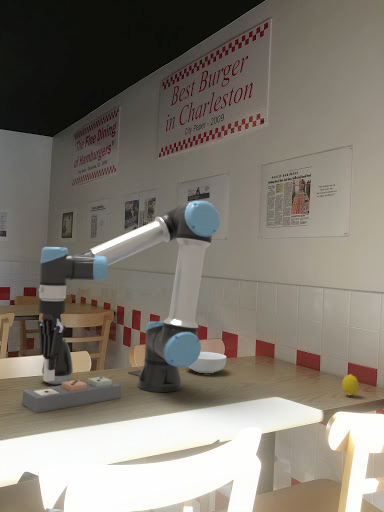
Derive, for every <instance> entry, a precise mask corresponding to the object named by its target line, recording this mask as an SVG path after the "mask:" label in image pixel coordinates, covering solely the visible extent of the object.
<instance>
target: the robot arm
mask: <svg viewBox="0 0 384 512" xmlns="http://www.w3.org/2000/svg"><path fill="white" fill-rule="evenodd" d="M220 222H221V219H220V214H219V212H218V209H216V207H215V206H214V205H213V204H212V203H210V202H209V201H206V200H193V201H190V202H186V203H182V204H179V205H177V206H175V207H173V208H172V209H169V210H168V211H166V212H165V213H162V214H160V215H158V216H156V217H155V218H154V221H151V222H149V223H146V224H145V225H142V226H141V227H137V228H136V229H135V228H134V229H133V230H131V231H128V232H126V233H124V234H122V235H118V236H116V237H115V238H112V239H110V240H108V241H105V242H103V243H100V244H97V246H94V247H92V248H90V249H88V250H85V251H83V252H80V253H78V254H77V253H76V254H70V253H69V252H68V248H67V247H60V246H59V247H57V246H44V247H42V249H41V255H40V262H39V264H40V266H39V270H40V271H39V272H40V273H39V288H38V292H39V294H38V295H39V297H38V299H39V301H38V313H39V314H42V317H41V320H38V321H37V327H38V335H39V351H40V355H42V357H43V359H44V360H43V363H44V377H43V380H42V381H43V382H46V381H53V380H54V377H55V358H57V357H60V352H61V346H62V340H63V339H64V333H65V332H66V325H62V318H61V317H62V316H61V315H62V314H65V313H66V301H65V299H67V280H78V281H94V282H95V281H104V280H106V278H107V277H108V271H109V266H111V265H113V264H115V263H117V262H119V261H122V260H123V259H127V258H128V257H130V256H133V255H135V254H138V253H140V252H141V251H144V250H147V249H148V248H152V247H153V246H156V245H157V244H159V243H161V242H165V243H168V242H171V241H174V240H176V241H177V243H178V245H179V248H178V254H177V261H176V268H175V274H174V281H173V288H172V295H171V300H170V307H169V314H168V317H167V318H166V319H164V320H162V321H149V322H147V324H146V329H145V346H144V362H143V366H142V369H141V370H142V371H141V374H140V376H139V377H138V380H137V381H138V382H137V387H138V388H139V389H141V390H144V391H148V392H154V393H171V392H176V391H179V390H181V388H182V380H181V375H180V371H179V368H180V369H181V368H187V367H188V366H190V365H191V364H193V363H194V362H195V361H196V360H197V358H198V357H199V355H200V352H202V345H201V341H200V338H199V337H198V333H199V325H198V324H197V322H196V312H197V307H198V300H199V294H200V286H201V282H202V281H201V279H202V273H203V269H204V268H203V266H204V261H205V254H206V250H207V248H208V247H209V246H211V244H212V237H213V235H214V234H215V233H216V232H217V231H218V229H219V227H220ZM46 383H47V382H46Z"/></svg>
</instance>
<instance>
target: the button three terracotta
mask: <svg viewBox="0 0 384 512" xmlns="http://www.w3.org/2000/svg"><path fill="white" fill-rule="evenodd" d="M84 382H85V381H82V380H79V379H75V380H68V381H66V382H62V384H61V385H62V387H61V388H63V389H65V390H68V391H70V392H71V391H78V390H84V389H87V384H86V383H84Z"/></svg>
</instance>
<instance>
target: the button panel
mask: <svg viewBox="0 0 384 512" xmlns="http://www.w3.org/2000/svg"><path fill="white" fill-rule="evenodd" d="M83 382H84V383H86V384H87V382H88V381H83ZM61 387H62V384H60V385H55V386H53V385H52V386H48V387H40V388H34V389H24V390H23V392H22V404H21V405H22V406H24V407H26V408H27V409H29V410H31V411H32V412H34V413H36V414H37V413H44V412H49V411H53V410H54V411H55V410H59V409H60V410H61V409H64V408H71V407H76V406H83V405H88V404H93V403H100V402H105V401H112V400H115V399H121V388H122V385H121V384H118V383H116V382H114V381H112V385H110V386H104V387H97V388H96V387H94V386H91V385H89V384H87V389H84V390H78V391H71V392H70V391H68V390H65V389H63V388H61ZM44 389H53V390H55V391H57V392H59V393H58V394H52V395H45V396H40V395H38V394H37V393H35V392H33V391H37V390H44Z"/></svg>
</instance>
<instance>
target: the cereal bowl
mask: <svg viewBox="0 0 384 512" xmlns="http://www.w3.org/2000/svg"><path fill="white" fill-rule="evenodd" d="M226 363H227V356H226V355H225V354H222V353H218V352H210V351H200V355H199V357H198V358H197V360H196V361H195V362H194V363H193V364H191V365H190V366H187V367H188V368H189V369H191V370H192V371H194V372H195V371H196V372H199V373H214V372H215V373H216V372H219V371H221V370H223V369H224V368H225V366H226ZM196 372H195V373H196ZM199 373H198V374H199ZM215 373H214V374H215Z"/></svg>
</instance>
